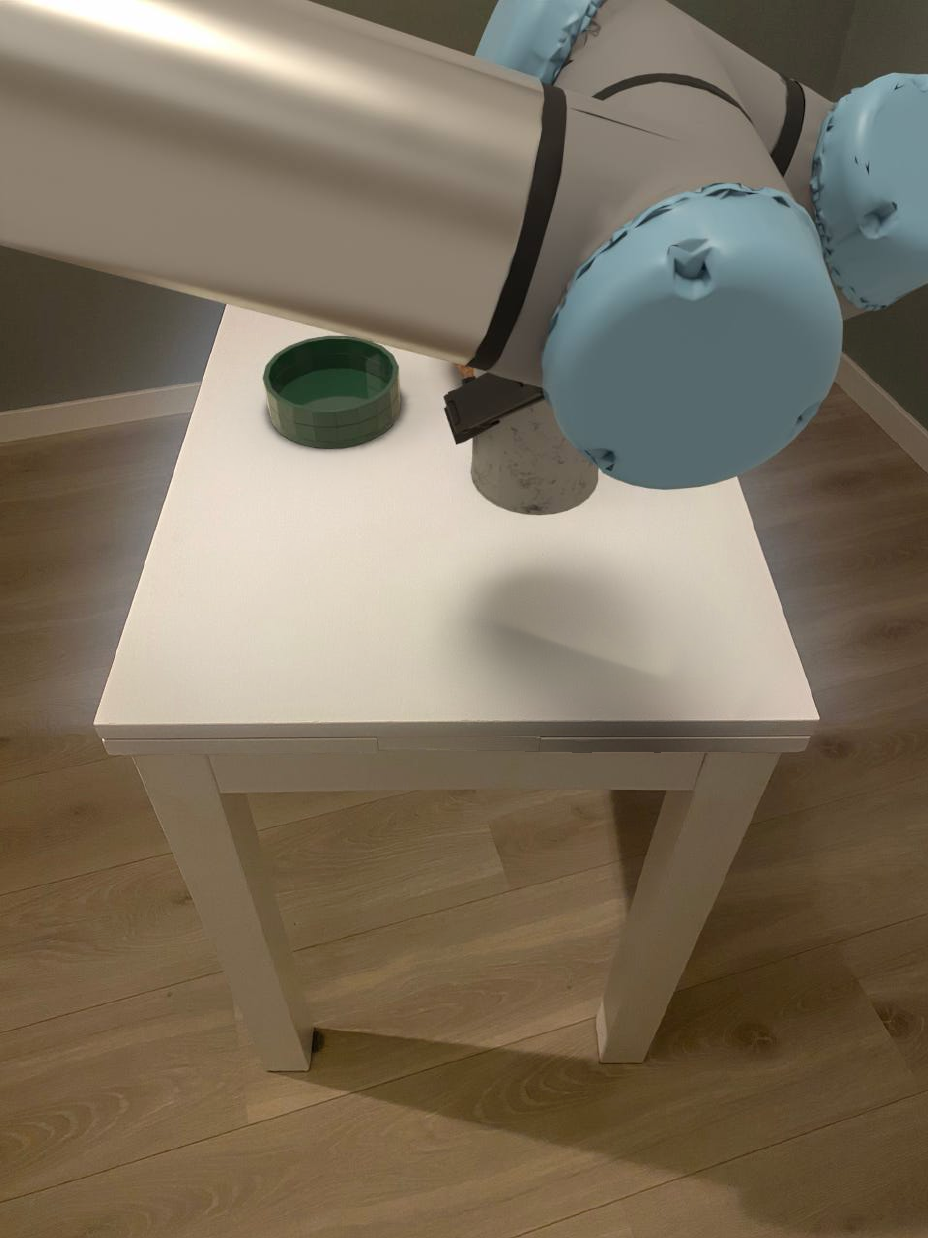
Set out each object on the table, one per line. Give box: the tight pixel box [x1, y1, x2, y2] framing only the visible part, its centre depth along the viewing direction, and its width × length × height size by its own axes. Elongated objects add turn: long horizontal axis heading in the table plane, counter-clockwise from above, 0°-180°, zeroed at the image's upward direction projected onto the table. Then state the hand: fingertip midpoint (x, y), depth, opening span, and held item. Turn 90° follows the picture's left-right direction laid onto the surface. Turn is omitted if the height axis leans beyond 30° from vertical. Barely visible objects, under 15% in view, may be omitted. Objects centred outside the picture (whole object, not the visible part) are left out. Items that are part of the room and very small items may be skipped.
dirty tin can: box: [469, 368, 600, 516], centre depth 65 cm, size 10×10×12 cm
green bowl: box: [262, 335, 401, 449], centre depth 98 cm, size 14×14×4 cm
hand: (515, 405), depth 69 cm, fingers closed on dirty tin can, 9 cm apart
